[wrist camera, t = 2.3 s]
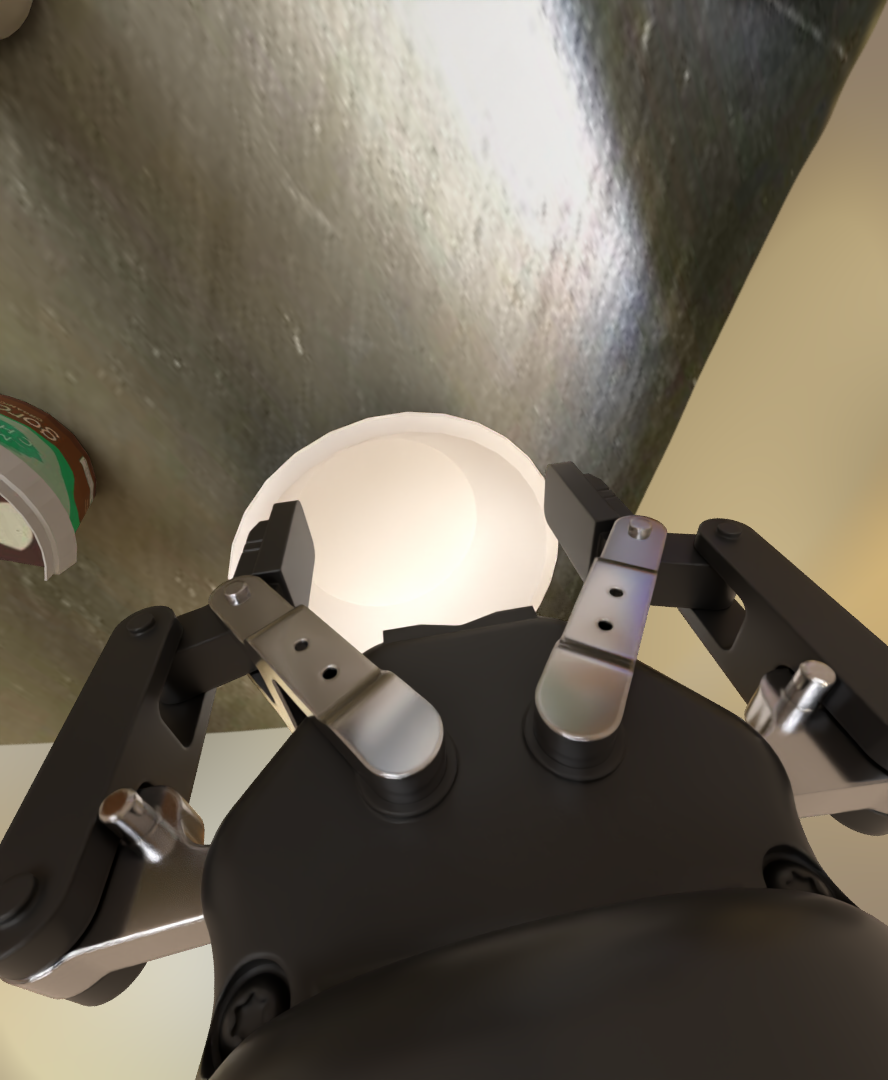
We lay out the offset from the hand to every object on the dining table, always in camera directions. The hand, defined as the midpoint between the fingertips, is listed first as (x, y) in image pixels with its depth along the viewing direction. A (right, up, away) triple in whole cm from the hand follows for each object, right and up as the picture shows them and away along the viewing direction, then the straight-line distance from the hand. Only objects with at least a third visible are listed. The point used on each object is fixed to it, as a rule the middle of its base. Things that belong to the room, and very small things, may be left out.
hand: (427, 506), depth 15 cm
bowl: (-4, 0, +23) cm, 23 cm away
